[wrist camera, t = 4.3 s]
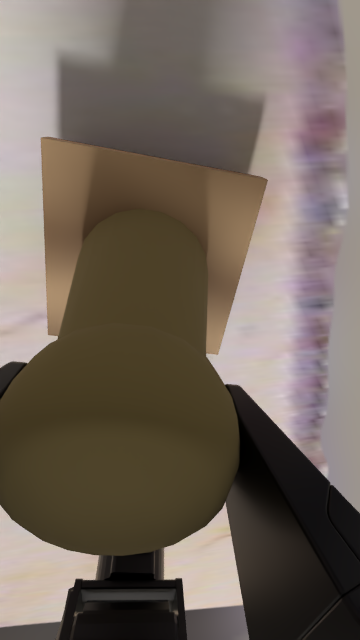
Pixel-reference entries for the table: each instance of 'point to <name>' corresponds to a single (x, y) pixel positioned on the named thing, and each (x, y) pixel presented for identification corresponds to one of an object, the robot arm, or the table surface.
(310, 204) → the table surface
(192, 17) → the table surface
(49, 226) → the footstool
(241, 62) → the table surface
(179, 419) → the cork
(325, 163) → the table surface
